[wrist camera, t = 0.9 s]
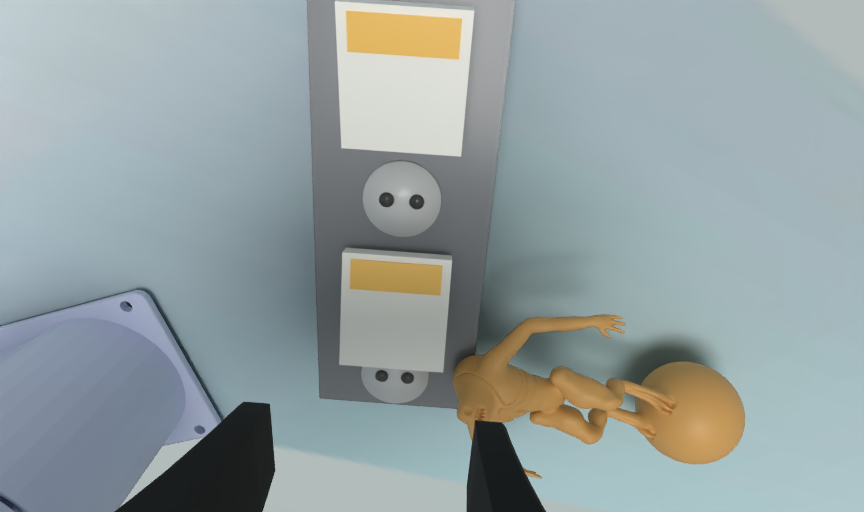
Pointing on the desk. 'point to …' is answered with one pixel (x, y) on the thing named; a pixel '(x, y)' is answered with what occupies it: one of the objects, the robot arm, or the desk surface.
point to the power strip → (405, 206)
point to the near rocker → (403, 75)
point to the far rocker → (394, 309)
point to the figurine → (603, 397)
